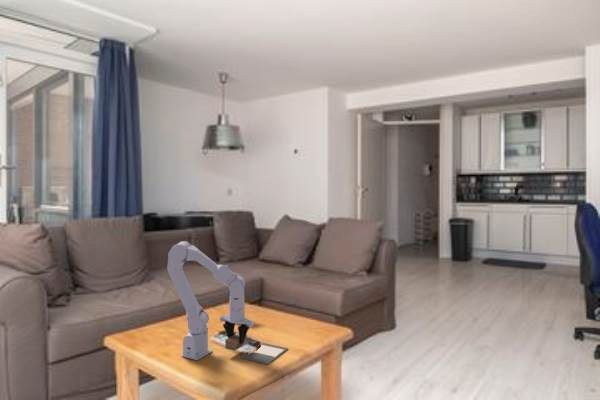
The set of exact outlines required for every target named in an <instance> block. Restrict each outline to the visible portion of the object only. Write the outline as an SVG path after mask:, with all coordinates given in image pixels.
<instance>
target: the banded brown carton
mask: <svg viewBox="0 0 600 400" xmlns="http://www.w3.org/2000/svg"><path fill="white" fill-rule="evenodd" d="M247 343H248V335H247V334H246V336H245V340H244V343H243V344H240V343H239V332H236V333H234V335H233V336H231V337H229V338H228V337H227V338H226V339H225V347H224V348H225V349H227V350H231V351H234V352H235V351H237V350H238V349H240V348H242V347H243V346H245V345H246V344H247Z"/></svg>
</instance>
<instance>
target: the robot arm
mask: <svg viewBox="0 0 600 400" xmlns="http://www.w3.org/2000/svg"><path fill="white" fill-rule="evenodd" d="M167 257H168V259H167V266H166V269H167V273H168V275H169V277H170V279H171V281H172V283H173V286H174V287H175V290H176V293H177V294H178V296H179V299H180V302H181V303H182V305H183V307H184V309H185V313H186V314H185V317H186V320H187V329H188V333H187V334H186V335H185V337H184V338H183V339H182V354H181V357H183V358H186V359H187V358H188V359H190V360H194V361H199V360H200V359H202V358H204V357H205V356H207V355H209V354H211V353H212V352H213V349H209V328H208V325H207V324H208V322H209V319H210V316H209V314H208V312H207V311H205V310H204V309H203V307H202V306H201V304H199V302H198V300H197V298H196V296H195V293H194V292H193V289H192V288H191V287H192V286H191V285H190V283H189V281H188V279H187V278H188V277H187V276H186V274H185V272H184V270H183V266H184V264H185V262H186V261H187V262H188V261H193V262H197V263H198V264H200V265H201V266H202V267H204V268H206V269H208V270H209V271H210V272H212V277H213V278H214V279H216V280H217V281H219V282H220V283H221V284H223V285H225V286H226V287H228V290H229V292H230V293H229V313H228V314H229V315H224V314H223V315H220V317H219V321H220V322H224V323H223V324H222V327H223V328H224V330H225V332H226V336H227V338H229V337H231V336H233V335H234V334H235V333H234V332H235V326H236V325H239V326H237V331H238V333H239V343H240V344H243V343H244V340H245V336H246V335H247V333H248V332H249V329H250V328H251V329H252V328H253V327H254V326H255V321H253V320H250V319H248V318H246V317H245V318H244V305H245V285H246V279H245V278H244V277H243V276H242V275H240V274H238V273H237V272H234V271H232V270H231V269H230V268H229V266H228V265H227V264H225V265H224V264H217V263H216V262H215V261H214V260H212V259H211V258H210V257H208V256H207V255H206V254H205V253H203V251H201V250H200V249H198V248H197V247H196V246H195V245H193V244H191V243H190V242H189V241H186V240H184V241H183V240H182V241H179V242H178V243H177V244H174V245H172V247H171V248H170V250H169V251H168V253H167Z"/></svg>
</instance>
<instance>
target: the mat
mask: <svg viewBox="0 0 600 400" xmlns="http://www.w3.org/2000/svg"><path fill="white" fill-rule="evenodd" d="M260 344H261V347H260V348H259V349H258V350H257V351H255V352H254V353H250V354H246V353H245V354H243V355H241V356H240V359H243V360H247V361H251V362H255V363H259V364H263V365H268V366H269V365H270V364H271V363H272V362H274V361H275V360H276V359H277V358H279V357H280V356H281V355H283V354H284V353H285V352H286V351H288V350H289V348H288V347H283V346H280V345H274V344H272V343H271V344H270V343H266V342H262V343H260Z"/></svg>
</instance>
